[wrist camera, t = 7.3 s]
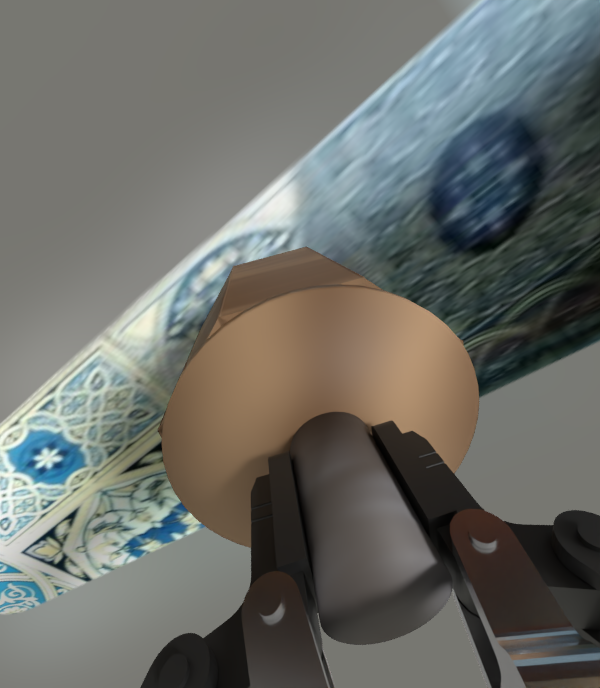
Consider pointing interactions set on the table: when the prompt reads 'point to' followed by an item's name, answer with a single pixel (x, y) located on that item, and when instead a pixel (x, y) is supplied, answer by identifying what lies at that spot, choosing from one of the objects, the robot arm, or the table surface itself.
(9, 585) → the table surface
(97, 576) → the table surface
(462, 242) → the table surface
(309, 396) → the tan jar with knob
